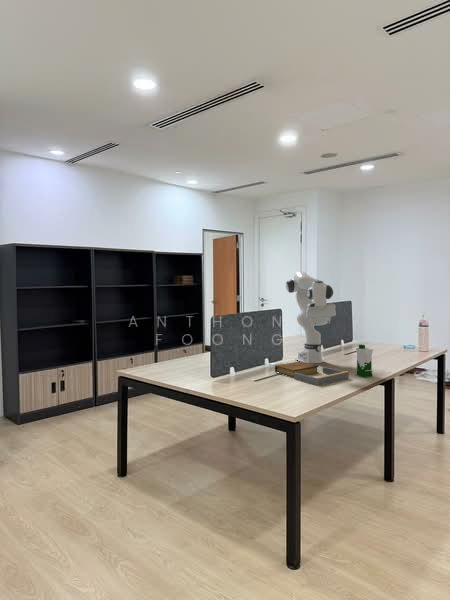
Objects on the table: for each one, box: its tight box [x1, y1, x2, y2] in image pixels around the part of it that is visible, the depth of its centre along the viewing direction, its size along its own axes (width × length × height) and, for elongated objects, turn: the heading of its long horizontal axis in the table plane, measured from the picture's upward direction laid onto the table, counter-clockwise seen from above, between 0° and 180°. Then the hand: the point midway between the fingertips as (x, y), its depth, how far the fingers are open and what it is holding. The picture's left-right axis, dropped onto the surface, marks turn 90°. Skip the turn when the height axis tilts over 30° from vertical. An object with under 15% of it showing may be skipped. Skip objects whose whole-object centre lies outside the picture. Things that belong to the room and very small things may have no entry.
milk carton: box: [355, 344, 374, 378], centre depth 274 cm, size 9×9×20 cm
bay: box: [293, 366, 350, 386], centre depth 268 cm, size 20×28×5 cm
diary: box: [274, 361, 320, 379], centre depth 286 cm, size 23×19×6 cm
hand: (321, 323), depth 289 cm, fingers open, 8 cm apart
